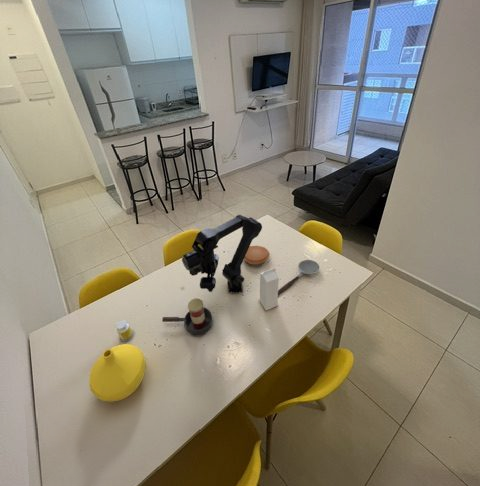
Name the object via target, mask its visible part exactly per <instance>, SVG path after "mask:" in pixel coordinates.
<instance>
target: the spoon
mask: <svg viewBox="0 0 480 486" xmlns="http://www.w3.org/2000/svg"><path fill="white" fill-rule="evenodd" d="M297 268H298V270H299V274H298V275H297V276H295V277H294V278H293V279H291V280H290V281H288V282H287V283H285V284H284V285H283V286H282V287H281V288H280V289H278V296H279V295H281V293H284V292H285V291H286V290H287V289H289V288H290V287H291V286H292V285H293V284H294V283H295V282H296V281H297V280H299V279H300V278H301V277H303V276H304V275H315V274H316V273H318V272H319V270H320V264H319V263H318V262H317V261H315V260H312V259H304V260H301V261H300V262H299V263H298V264H297Z"/></svg>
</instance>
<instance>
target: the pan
mask: <svg viewBox="0 0 480 486" xmlns="http://www.w3.org/2000/svg"><path fill="white" fill-rule="evenodd" d="M203 308H204V313H205V318H206V325H205V326H204V327H203V328H201V329H196V328H194V327H193V324H192V320H191V316H190V312H189V311H188V312H187V313H186V314H185V316H184V317H183V318H184V321H183V325H184V328H185V330H186V332H187V333H188V334H189V335H190V336H193V337H198V336H199V337H201V336H203V335H205V334H207V333H208V332H210V330H211V329H212V327H213V325H214V324H213V323H214V319H213V315H212V312H211V311H210V309H209V308H207V307H204V306H203Z"/></svg>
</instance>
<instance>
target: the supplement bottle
mask: <svg viewBox="0 0 480 486" xmlns="http://www.w3.org/2000/svg"><path fill="white" fill-rule="evenodd" d="M115 327H116V332H117V334H118V336H119V338H120V340H122V341H123V342H127V341H130V340H131V338H132V337H133V331H132V329H131V326H130V324H129V323H127V321H126V320H124V319H122V320H119V321H118V322H117V323H116V325H115Z"/></svg>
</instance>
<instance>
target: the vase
mask: <svg viewBox="0 0 480 486" xmlns="http://www.w3.org/2000/svg"><path fill="white" fill-rule="evenodd" d="M146 365H147V363H146V358H145V356H144V353H143V351H142V350H141V349H140V348H139V347H138V346H135V345H132V344H130V343H129V344H128V343H123V344H117V345H115V346H112V347H111V348H108V349H105V350H104V351H103V353H102V354H101V355H100V356H99V357H98V358H97V359H96V361H95V362H94V364H93V365H92V367H91V370H90V373H89V388H90V391H91V392H92V394H93V395H94V396H95V397H96V398H97V399H98V400H101V401H103V402H117V401H122V400H124V399H126V398H127V397H129V396H130V395H131V394H133V393H134V392H135V391H136V390H137V389H138V388H139V386H140V385H141V383H142V382H143V378H144V376H145V372H146Z"/></svg>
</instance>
